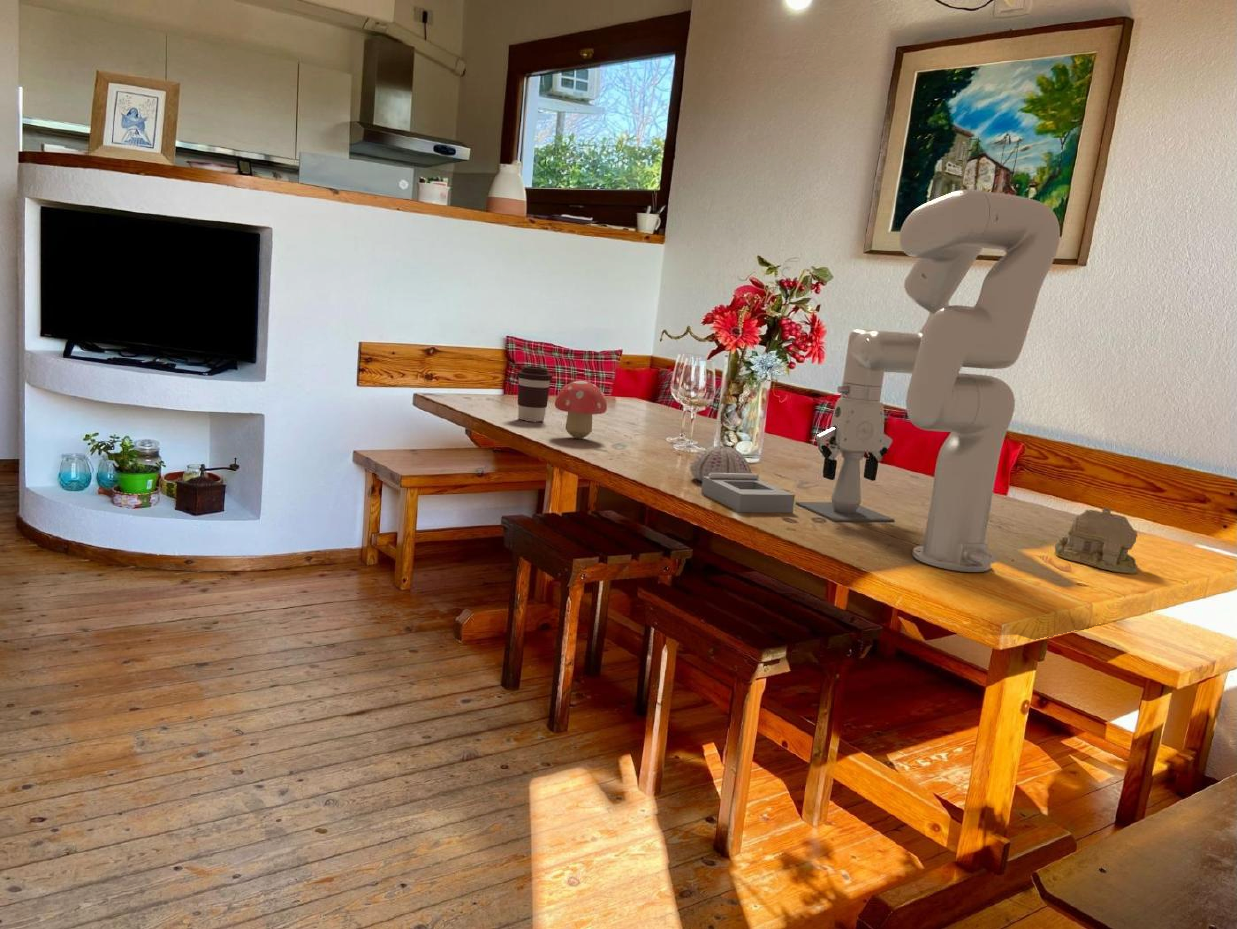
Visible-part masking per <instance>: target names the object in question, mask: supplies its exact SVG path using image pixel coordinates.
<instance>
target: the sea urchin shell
mask: <svg viewBox="0 0 1237 929" xmlns="http://www.w3.org/2000/svg"><path fill="white" fill-rule="evenodd" d="M689 468H690V472H691V475H692V477H693V478H694V479H697V480H699V481H701V482H702V481H703V476H709V473H748V474H753V472H752V468H751V466H750V464H749V462H748V461H747V459H746V458H745V456H743V455H742V453H741V452H740V451H739V450H738V449H735V448H732V447H729V446H724V445H713V446H709V447H708V448H705V449H704V450H701V452H698V454H697V455H695V458H693V460H692V462H691V463H690V466H689Z"/></svg>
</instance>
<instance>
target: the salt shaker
mask: <svg viewBox="0 0 1237 929" xmlns="http://www.w3.org/2000/svg"><path fill="white" fill-rule="evenodd" d="M864 453H865V452H846V451H843V450H842V451H841V457H842V458H843V460H842V463H841V467H840V470H839V472H838V473H839V474H838V476H837V479H836V481H835V482H836V483H835V485H834V488H833V491H832V493H831V498H830V499H831V502H832V504H833V508H834V510H836V511H839V512H844V513H855V511H856V510H857V508H858V506H859V505H860V506H861V502H862V498H861V494H862V493H861V467H860V466H861V465H860V464H861V462H860V461H861V460H863V459H864V455H865V454H864Z"/></svg>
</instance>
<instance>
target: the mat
mask: <svg viewBox="0 0 1237 929" xmlns="http://www.w3.org/2000/svg"><path fill="white" fill-rule="evenodd" d="M794 505H797V506H798V507H799V506H800V507H802V508H803V509H806V510H808V511H810V512H812V513H815V514H816V515H819V516H821V517H824V518H826V519H828V520H830V521H832V522H895V521H896V520H895V518H892V517H890V516H887V515H885V514H882V513H879V512H878V511H875V510H872V509H870V508H868V507H865V506H862V505H861V504H860V505H859V506H858V508H857V510H856V511H855V513H844V512H839V511H836V510H834V508H833V504H832V501H830V502H828V501H827V502H821V501H819V502H818V501H817V502H815V501H812V502H811V501H795V502H794Z"/></svg>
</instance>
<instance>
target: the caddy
mask: <svg viewBox="0 0 1237 929" xmlns="http://www.w3.org/2000/svg"><path fill="white" fill-rule="evenodd" d="M759 478H760V475H759V473H751V474H748V473H709V476H703V481H701V490H700V494H702V495H705V496H706V497H708V498H710V499H712V500H714V501H716V502H718V503H720V504H722V505H724V506H726V507H728V508H729V509H732V510H734V511H736V512H737V513H794V512H793V511H794V506H795V497H796V494H794V493H791V492H790V491H787V490H784V489H782V488H780V487H777V486H776V485H774V484H770V483H768V482H766V481H764V480H762V479H759Z"/></svg>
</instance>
